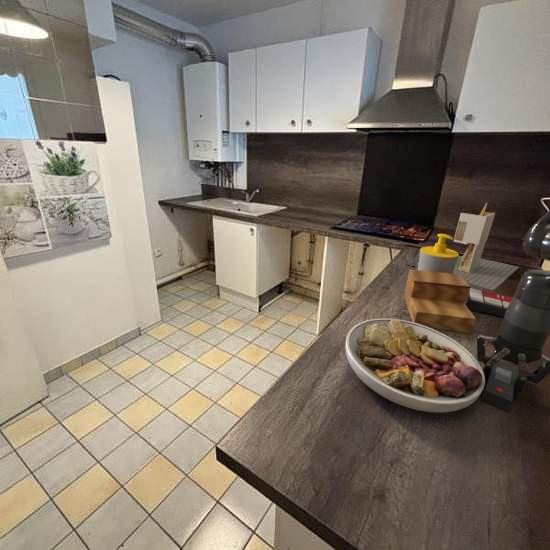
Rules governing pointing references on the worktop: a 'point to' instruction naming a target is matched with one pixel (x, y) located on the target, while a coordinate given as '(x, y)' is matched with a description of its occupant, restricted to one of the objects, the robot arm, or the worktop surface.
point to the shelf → (438, 301)
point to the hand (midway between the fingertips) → (499, 384)
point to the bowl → (414, 365)
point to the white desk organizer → (478, 252)
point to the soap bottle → (438, 257)
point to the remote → (500, 385)
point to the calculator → (487, 302)
